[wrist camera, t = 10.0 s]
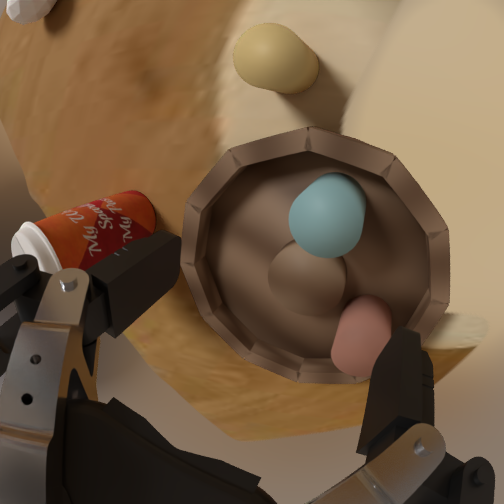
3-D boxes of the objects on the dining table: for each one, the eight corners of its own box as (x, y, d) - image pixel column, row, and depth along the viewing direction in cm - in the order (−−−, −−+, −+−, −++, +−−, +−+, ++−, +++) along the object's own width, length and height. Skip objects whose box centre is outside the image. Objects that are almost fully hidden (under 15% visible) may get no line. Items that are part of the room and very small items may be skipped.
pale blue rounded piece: (316, 163, 21) (299, 175, 17) (374, 184, 20) (373, 202, 16) (300, 217, 23) (280, 242, 19) (354, 238, 22) (347, 268, 18)
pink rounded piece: (353, 287, 24) (344, 324, 20) (400, 305, 23) (401, 345, 18) (334, 326, 26) (322, 364, 22) (378, 343, 25) (372, 383, 21)
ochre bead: (268, 36, 19) (241, 20, 15) (324, 46, 18) (309, 28, 14) (256, 87, 21) (226, 82, 17) (311, 100, 20) (293, 95, 16)
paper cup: (172, 202, 28) (53, 265, 17) (155, 260, 33) (59, 331, 21) (118, 167, 30) (4, 210, 18) (108, 225, 34) (12, 277, 22)
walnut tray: (220, 102, 23) (200, 102, 20) (485, 195, 17) (498, 206, 15) (189, 309, 34) (174, 324, 31) (373, 387, 28) (369, 409, 26)
